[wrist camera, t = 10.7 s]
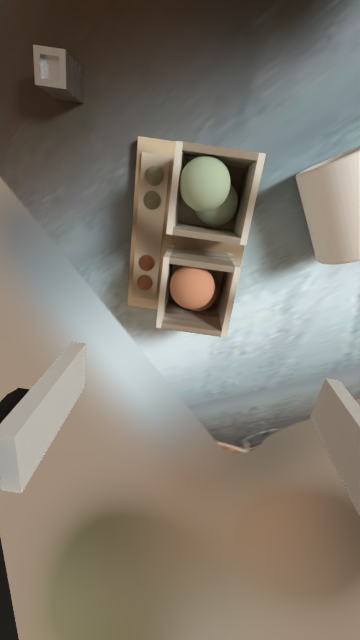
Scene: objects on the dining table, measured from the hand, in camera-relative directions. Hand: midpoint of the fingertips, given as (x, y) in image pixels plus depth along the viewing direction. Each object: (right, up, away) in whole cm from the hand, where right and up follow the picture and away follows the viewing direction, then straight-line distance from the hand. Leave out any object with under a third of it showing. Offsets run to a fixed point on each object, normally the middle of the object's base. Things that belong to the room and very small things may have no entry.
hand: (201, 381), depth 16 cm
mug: (+19, +18, +19) cm, 32 cm away
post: (-13, +29, +15) cm, 35 cm away
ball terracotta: (0, +7, +15) cm, 17 cm away
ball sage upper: (+1, +16, +11) cm, 20 cm away
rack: (0, +14, +21) cm, 25 cm away
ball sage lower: (+3, +16, +16) cm, 23 cm away
